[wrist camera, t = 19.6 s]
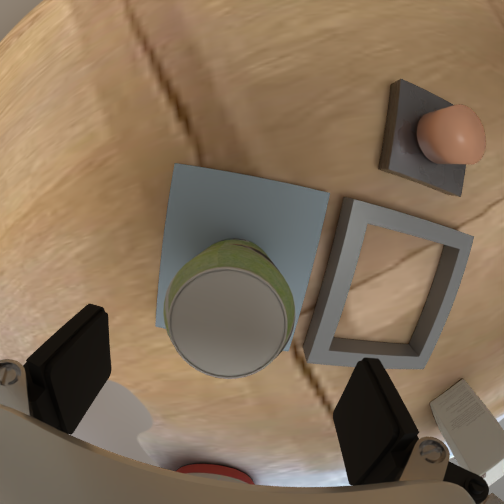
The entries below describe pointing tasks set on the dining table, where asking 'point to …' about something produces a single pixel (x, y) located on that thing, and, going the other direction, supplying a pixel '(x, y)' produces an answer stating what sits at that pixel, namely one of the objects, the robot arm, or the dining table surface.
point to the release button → (452, 136)
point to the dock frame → (341, 274)
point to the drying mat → (241, 224)
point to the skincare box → (470, 431)
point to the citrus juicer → (216, 473)
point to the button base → (415, 140)
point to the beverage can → (229, 310)
